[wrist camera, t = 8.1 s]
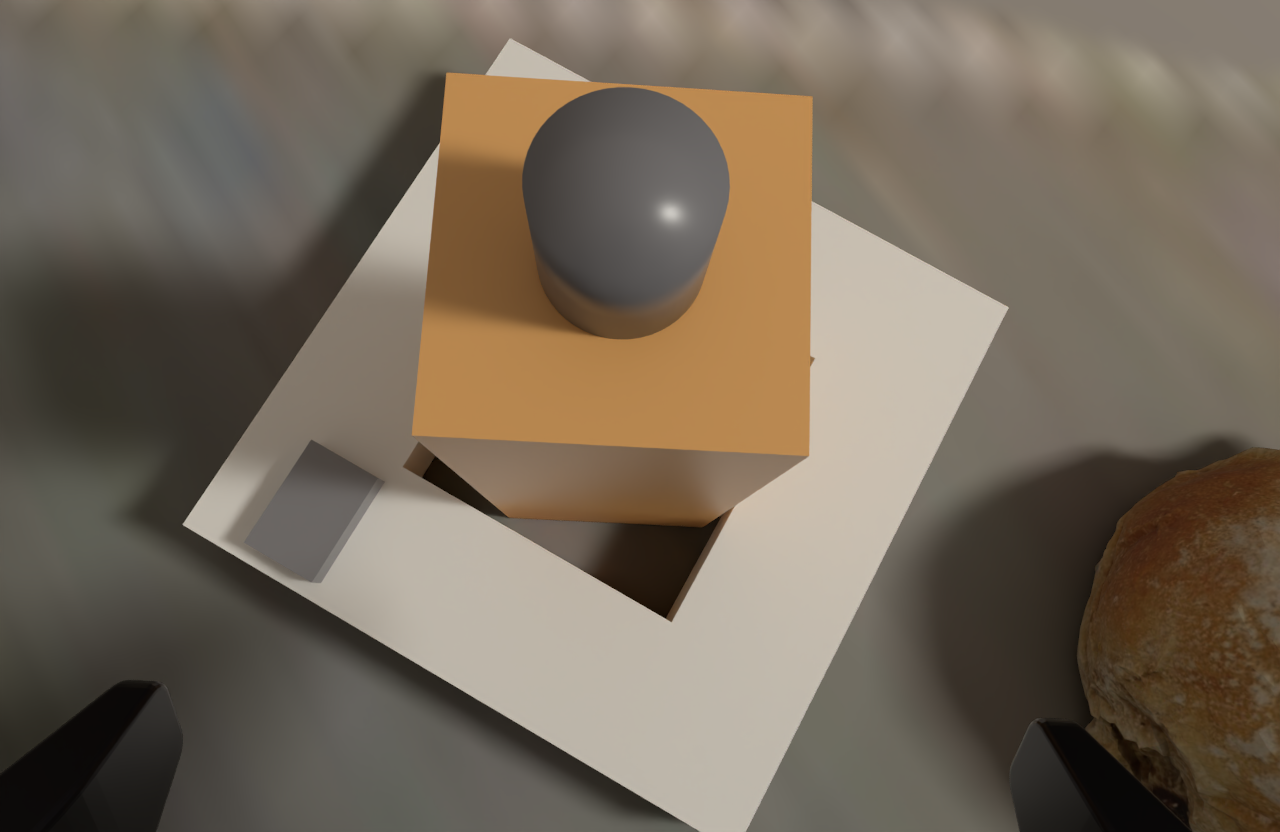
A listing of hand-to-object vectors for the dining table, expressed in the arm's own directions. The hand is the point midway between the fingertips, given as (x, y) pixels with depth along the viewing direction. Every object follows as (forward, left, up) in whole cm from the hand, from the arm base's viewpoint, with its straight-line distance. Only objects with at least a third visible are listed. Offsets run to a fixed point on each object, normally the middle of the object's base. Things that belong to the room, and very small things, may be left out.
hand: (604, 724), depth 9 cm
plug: (+5, +2, -11) cm, 12 cm away
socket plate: (+5, +2, -11) cm, 12 cm away
